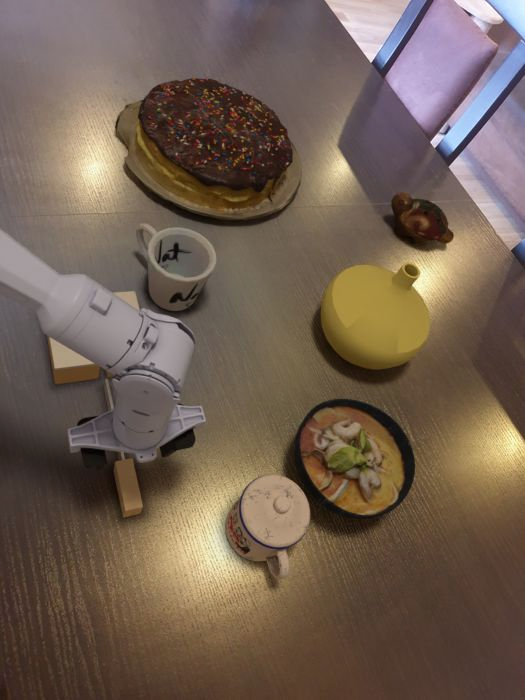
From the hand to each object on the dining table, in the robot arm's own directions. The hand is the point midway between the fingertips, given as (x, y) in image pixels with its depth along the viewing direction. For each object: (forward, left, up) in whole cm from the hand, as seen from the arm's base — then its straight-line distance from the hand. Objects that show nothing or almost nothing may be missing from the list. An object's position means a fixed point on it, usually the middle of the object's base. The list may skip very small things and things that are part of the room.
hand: (131, 455), depth 68 cm
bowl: (+29, -6, -8) cm, 31 cm away
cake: (+29, +61, -8) cm, 68 cm away
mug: (+12, +31, -8) cm, 34 cm away
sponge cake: (0, +21, -8) cm, 23 cm away
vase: (+43, +16, -8) cm, 47 cm away
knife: (0, +4, -8) cm, 9 cm away
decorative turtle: (+67, +39, -8) cm, 78 cm away
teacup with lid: (+15, -12, -8) cm, 21 cm away
